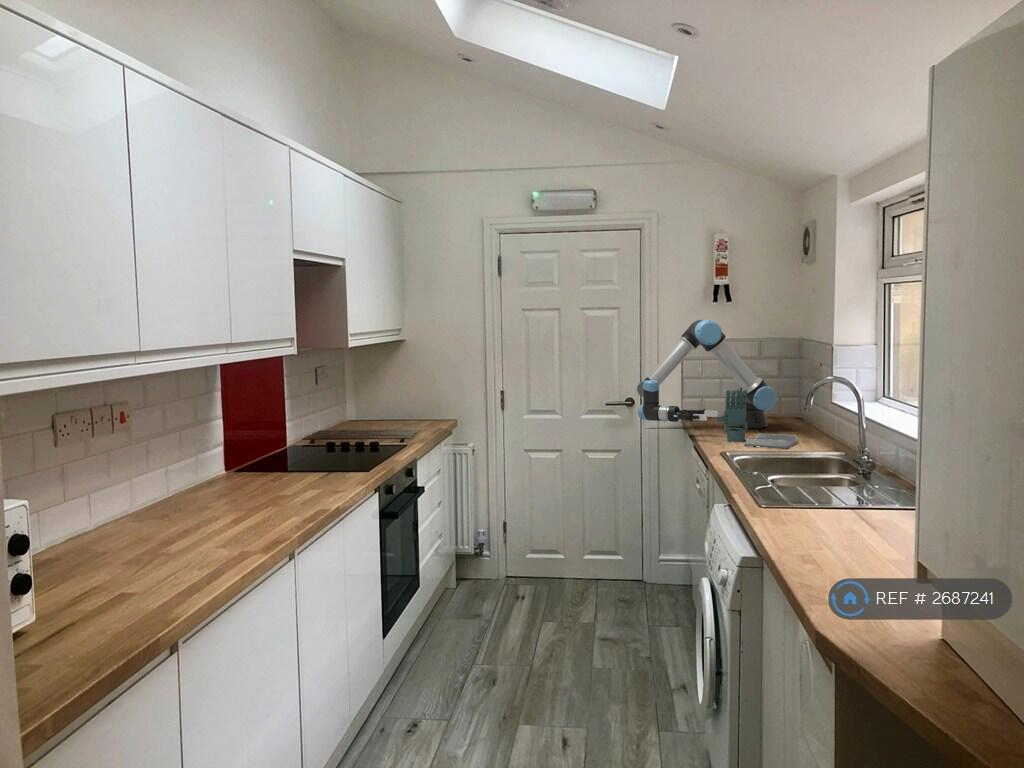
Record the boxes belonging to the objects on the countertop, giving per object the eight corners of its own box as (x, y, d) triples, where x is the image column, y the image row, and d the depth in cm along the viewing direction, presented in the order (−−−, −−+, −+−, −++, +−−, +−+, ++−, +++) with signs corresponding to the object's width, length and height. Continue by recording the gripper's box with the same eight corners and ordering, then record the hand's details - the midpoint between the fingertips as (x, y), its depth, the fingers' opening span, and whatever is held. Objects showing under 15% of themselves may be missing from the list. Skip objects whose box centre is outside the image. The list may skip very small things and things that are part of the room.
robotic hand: (714, 444, 369) (718, 396, 357) (715, 433, 378) (719, 386, 366) (745, 447, 365) (751, 399, 354) (746, 436, 374) (751, 388, 362)
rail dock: (757, 440, 367) (757, 432, 367) (798, 442, 357) (798, 435, 357) (744, 446, 353) (744, 438, 352) (785, 449, 342) (785, 441, 342)
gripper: (680, 418, 396) (722, 420, 384) (658, 424, 376) (702, 427, 364) (680, 402, 396) (722, 404, 383) (658, 408, 375) (701, 410, 363)
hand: (712, 415), depth 373 cm, fingers open, 13 cm apart
